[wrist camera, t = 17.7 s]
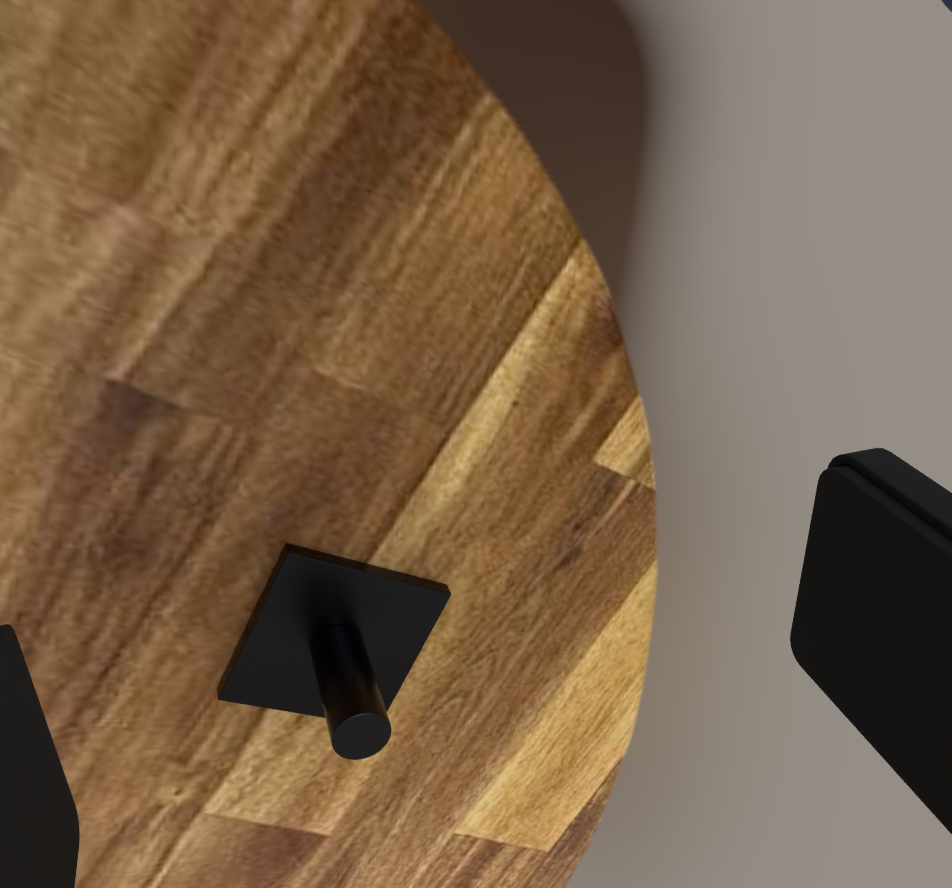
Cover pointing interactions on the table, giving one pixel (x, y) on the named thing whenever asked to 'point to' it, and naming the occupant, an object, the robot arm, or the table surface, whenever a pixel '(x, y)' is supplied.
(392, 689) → the post
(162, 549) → the table surface
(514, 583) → the table surface
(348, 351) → the table surface
